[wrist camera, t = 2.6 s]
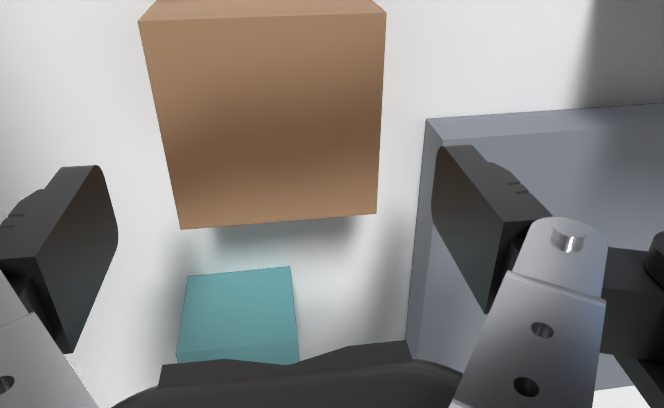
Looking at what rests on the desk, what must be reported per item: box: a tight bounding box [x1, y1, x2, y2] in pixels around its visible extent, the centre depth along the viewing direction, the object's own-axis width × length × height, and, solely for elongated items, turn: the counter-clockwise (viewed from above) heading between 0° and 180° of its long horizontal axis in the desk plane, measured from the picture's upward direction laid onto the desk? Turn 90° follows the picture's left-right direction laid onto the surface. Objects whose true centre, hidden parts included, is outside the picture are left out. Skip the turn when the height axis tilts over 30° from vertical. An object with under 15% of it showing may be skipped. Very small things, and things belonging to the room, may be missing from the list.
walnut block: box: [138, 0, 386, 230], centre depth 16 cm, size 6×6×5 cm
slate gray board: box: [405, 103, 664, 391], centre depth 24 cm, size 16×16×2 cm
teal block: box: [176, 266, 299, 365], centre depth 21 cm, size 4×4×4 cm
